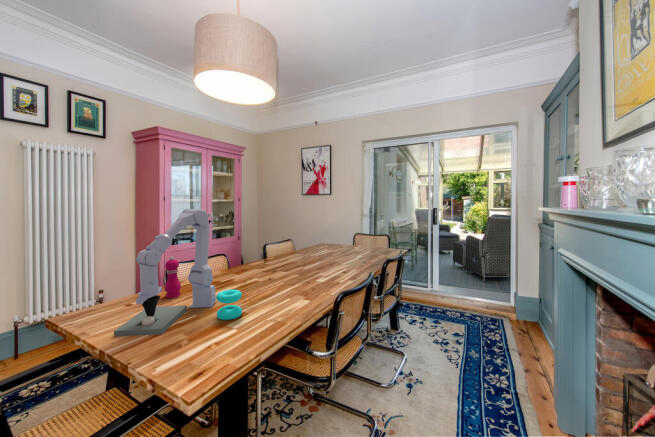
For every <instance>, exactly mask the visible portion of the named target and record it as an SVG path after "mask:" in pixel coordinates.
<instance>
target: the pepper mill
mask: <svg viewBox="0 0 655 437" xmlns="http://www.w3.org/2000/svg"><path fill="white" fill-rule="evenodd" d="M179 266H180V263H179V260H177V259H175V258H174V256H170V257H169V260H167V261H165V265H164V267H165V269H166V274H167V279H166V283H165V285H164V291H165V292H166V293H165V298H167V299H175V298H178V297H180V296H181V291H180V290H181V289H182V284H181V281H180V280H179V277H178V272H179V269H178V268H179Z"/></svg>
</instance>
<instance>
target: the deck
mask: <svg viewBox="0 0 655 437" xmlns="http://www.w3.org/2000/svg"><path fill="white" fill-rule="evenodd" d="M187 311H188V305H166V306H156V310H155V314H154V316H152V317H153V318H154V324H152V325H151V326H143V325H142V320H143V319H144V318H145V317H147V315H146V312H145V309H144V308H143V310H141V311H140V312H139V313H137V314H136V315H135V316H133V317H132V318H130V319H129V320H127V321H126V322H124V323H122V324H121V325H119V327H117V328H116V329H114V330H113V336H114V337H130V336H152V335H153V336H157V335H163V334H164V333H165V332H166V331H168V329H169V328H170V327H171V326H172V325H174V324H175V322H176V321H178V319H180V318H181V316H183V315H184V314H185V313H186V312H187Z"/></svg>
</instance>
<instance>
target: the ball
mask: <svg viewBox="0 0 655 437" xmlns="http://www.w3.org/2000/svg"><path fill="white" fill-rule="evenodd" d="M152 324H154V318H153V317H151V316H147V317H145V318H144V319H143V320H142V325H143V326H151V325H152Z"/></svg>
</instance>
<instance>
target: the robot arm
mask: <svg viewBox="0 0 655 437" xmlns="http://www.w3.org/2000/svg"><path fill="white" fill-rule="evenodd" d="M187 226H192V227H193V228H194V230H195V231H196V232H195V233H196V234H195V251H194V264H193V265H192V266H191V267H190V271H189V274H188V277H187V279H188V280H187V281H188V282H189V283H190V284H191V290H192V291H191V292H192V294H191V295H192V304H190V305H189V308H190V309H195V308H212V307H213V305H214V304H215V303H216V302H217V299H216V296H217V293H216V286H215V285H214V284H212V283H213V280H214V274H213V271H212V270H213V268H212V267H210V265H209V248H210V246H209V245H210V230H211V228H210V222H209V214H208V212H207V211H206V210H205V209H203V208H199V209H196V208H195V209H194V208H191V209H190V208H186V209H183V210H182V212H181V213H179V214H178V217H177V219H176V220H174V222H173V223H172V225H170V227H169V228H168V230H167V231H165V233H164V234H162V233H161V234H159V235H156V236H154V240H153V241H152V242H151V243H150V244H149V245H147V246H145V249H143V250H140V251H138V253H137V255H136V257H135V262H136V263H137V264H138V267H139V281H140V282H139V283H140V291H139V292H138V293H137V296H138V297H136V299H135V305H141V306H142V308H143V310H144V309H145V312H146V315H147V316H151V317H152V316H154V314H155V310H156V307H158V306H157V305H158V304H159V300H160V299H161V295H159V294H160V293H161V292H163V286H159V269H158V266H159V265H158V264H159V263H161V260H162V256H163V255H164V253H165V252H166V251H167V250H168V249H169V247H171V245H173V239H174V238H175V237H176V236H177V235H178V234H179V233H180V232H181V231H182V230H183V229H184V228H185V227H187Z"/></svg>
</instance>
